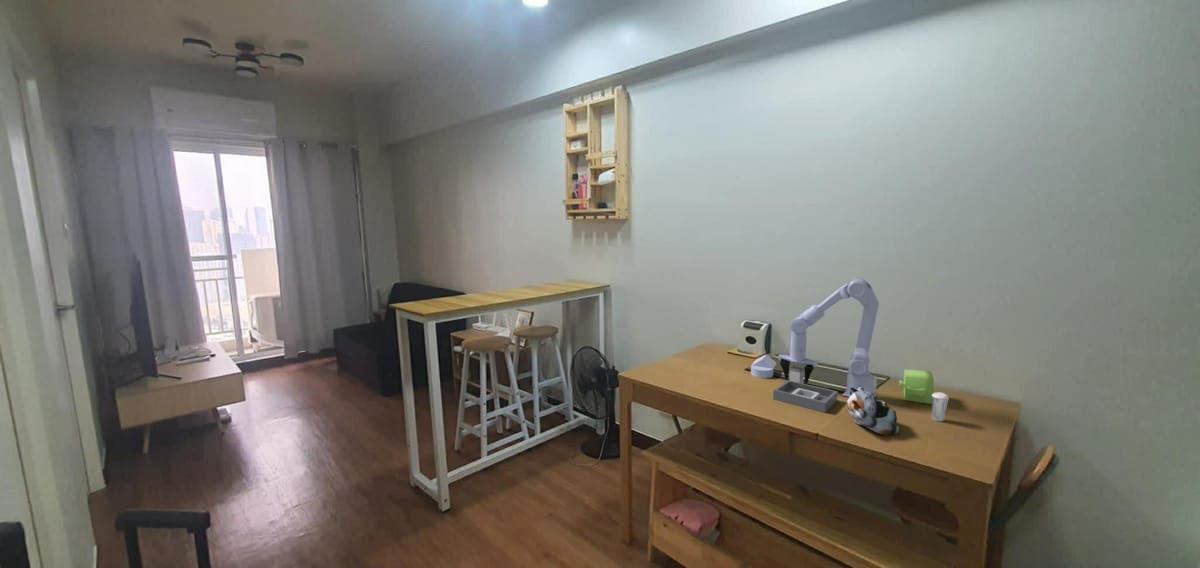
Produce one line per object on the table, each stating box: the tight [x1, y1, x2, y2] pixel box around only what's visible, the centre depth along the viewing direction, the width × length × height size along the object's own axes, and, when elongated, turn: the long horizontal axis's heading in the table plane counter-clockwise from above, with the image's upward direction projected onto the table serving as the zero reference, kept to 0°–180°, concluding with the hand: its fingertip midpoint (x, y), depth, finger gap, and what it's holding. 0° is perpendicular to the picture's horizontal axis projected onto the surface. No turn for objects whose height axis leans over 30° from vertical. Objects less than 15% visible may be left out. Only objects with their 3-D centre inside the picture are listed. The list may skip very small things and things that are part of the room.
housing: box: [772, 379, 839, 414], centre depth 168 cm, size 18×14×4 cm
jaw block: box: [788, 365, 805, 384], centre depth 183 cm, size 4×4×7 cm
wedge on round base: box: [750, 354, 777, 379], centre depth 197 cm, size 9×7×13 cm
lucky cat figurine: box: [846, 387, 900, 437], centre depth 146 cm, size 15×12×14 cm
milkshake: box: [929, 389, 950, 423], centre depth 151 cm, size 4×5×10 cm
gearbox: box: [898, 369, 935, 405], centre depth 170 cm, size 18×10×10 cm, turn 149°
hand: (796, 380), depth 183 cm, fingers open, 7 cm apart
